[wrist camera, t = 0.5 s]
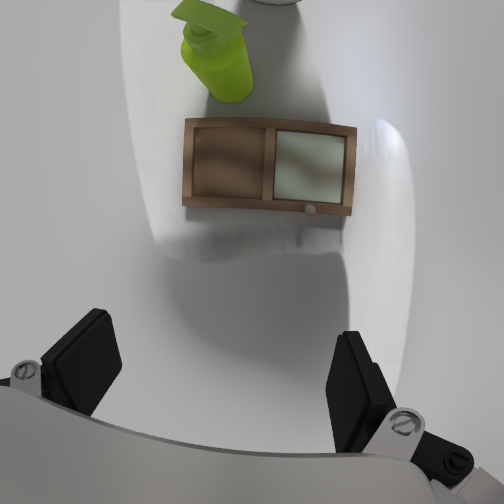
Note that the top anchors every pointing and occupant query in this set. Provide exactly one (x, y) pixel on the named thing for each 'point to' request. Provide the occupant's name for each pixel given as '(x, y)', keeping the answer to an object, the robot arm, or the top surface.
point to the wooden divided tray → (269, 165)
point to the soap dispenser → (216, 49)
